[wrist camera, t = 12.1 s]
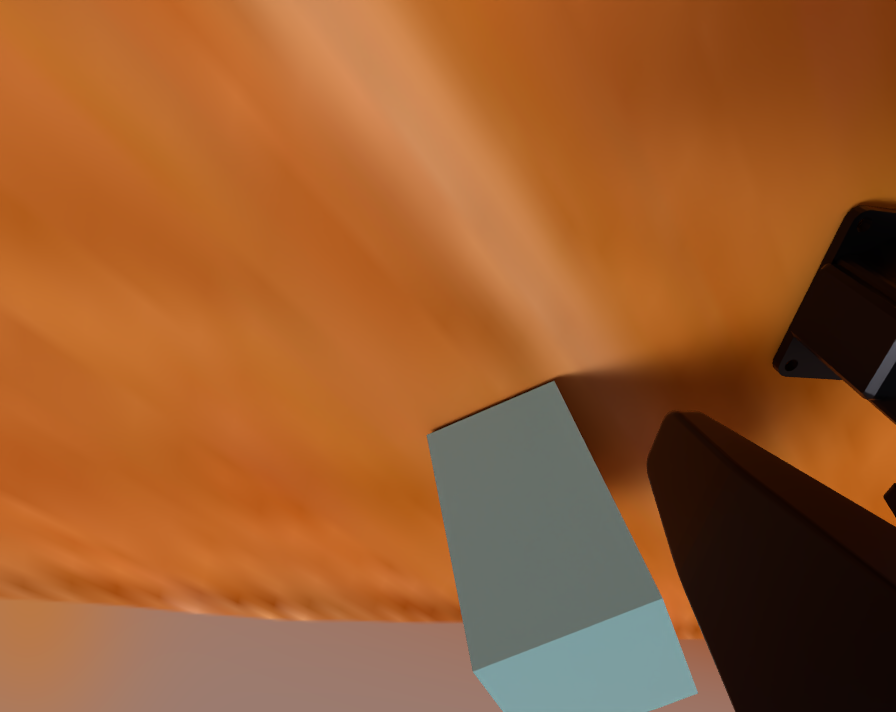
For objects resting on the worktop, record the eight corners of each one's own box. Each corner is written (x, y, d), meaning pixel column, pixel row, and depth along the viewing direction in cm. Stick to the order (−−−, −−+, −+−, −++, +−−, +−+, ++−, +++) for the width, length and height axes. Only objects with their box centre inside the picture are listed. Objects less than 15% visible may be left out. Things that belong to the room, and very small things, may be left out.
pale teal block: (554, 380, 24) (662, 598, 16) (591, 471, 26) (697, 693, 19) (426, 434, 24) (472, 671, 16) (475, 517, 27) (535, 753, 19)
